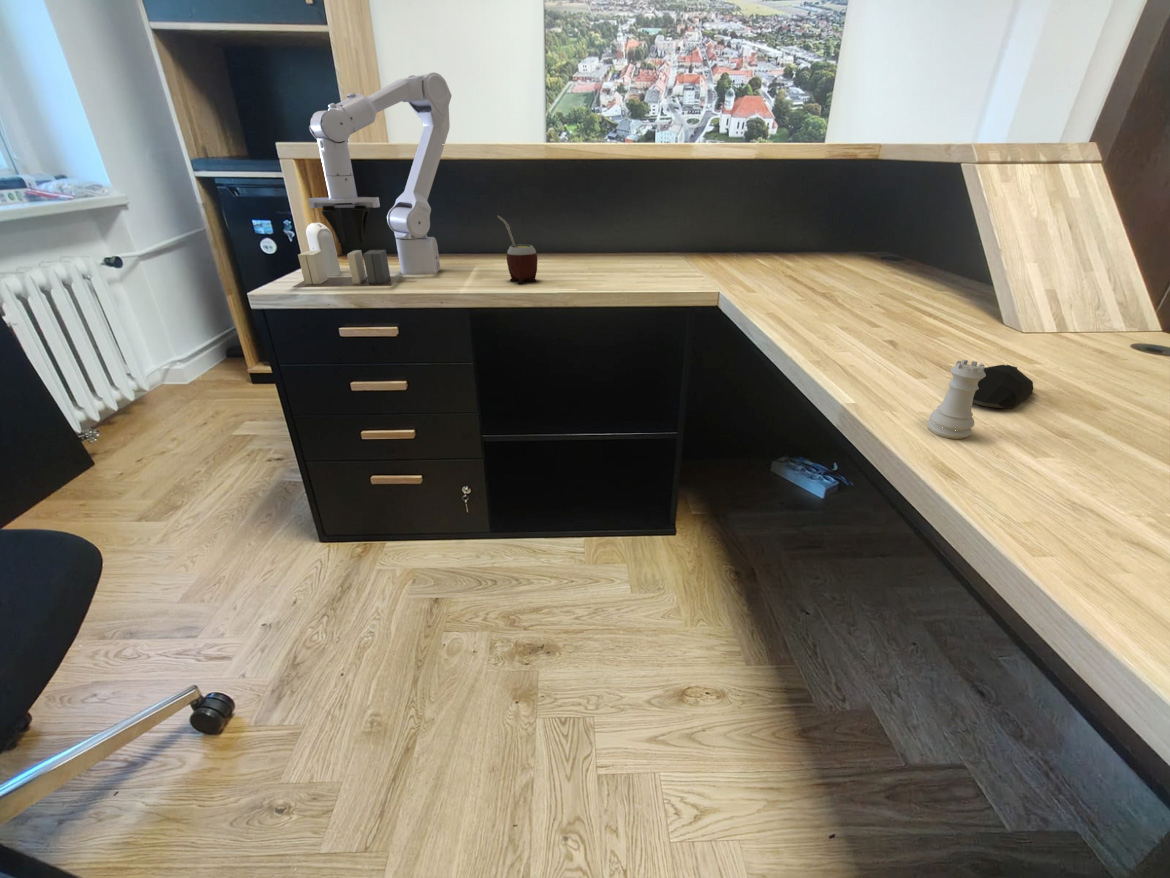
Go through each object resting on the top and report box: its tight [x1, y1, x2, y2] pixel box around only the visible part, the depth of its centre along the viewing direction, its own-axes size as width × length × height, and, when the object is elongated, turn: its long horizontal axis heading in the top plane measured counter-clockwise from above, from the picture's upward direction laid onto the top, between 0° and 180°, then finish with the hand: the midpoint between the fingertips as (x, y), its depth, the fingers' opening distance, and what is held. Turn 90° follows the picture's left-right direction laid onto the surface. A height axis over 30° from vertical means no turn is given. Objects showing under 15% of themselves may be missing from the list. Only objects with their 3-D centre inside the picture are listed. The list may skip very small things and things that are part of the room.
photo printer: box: [305, 222, 342, 277], centre depth 135 cm, size 10×4×12 cm, turn 39°
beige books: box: [297, 250, 328, 284], centre depth 127 cm, size 3×5×6 cm
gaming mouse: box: [972, 364, 1034, 409], centre depth 71 cm, size 6×15×4 cm, turn 126°
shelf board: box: [292, 275, 403, 288], centre depth 129 cm, size 22×10×1 cm, turn 92°
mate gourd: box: [496, 215, 538, 285], centre depth 127 cm, size 8×8×15 cm
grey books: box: [362, 249, 391, 283], centre depth 127 cm, size 4×5×6 cm
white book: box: [346, 249, 367, 284], centre depth 127 cm, size 2×5×6 cm, turn 2°
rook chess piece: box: [926, 359, 986, 440], centre depth 60 cm, size 4×4×8 cm
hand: (352, 242), depth 124 cm, fingers open, 4 cm apart
